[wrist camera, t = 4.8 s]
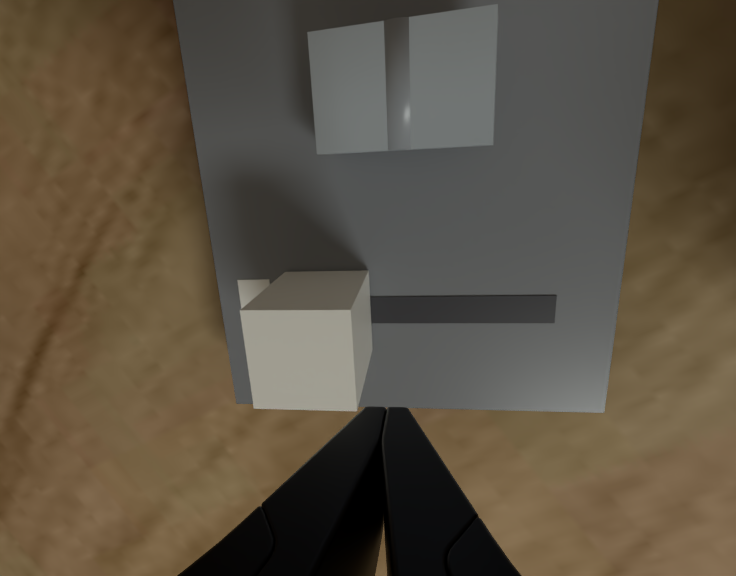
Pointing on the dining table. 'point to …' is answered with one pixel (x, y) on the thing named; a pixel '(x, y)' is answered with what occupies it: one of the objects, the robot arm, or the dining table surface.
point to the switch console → (434, 198)
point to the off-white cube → (309, 341)
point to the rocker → (406, 82)
